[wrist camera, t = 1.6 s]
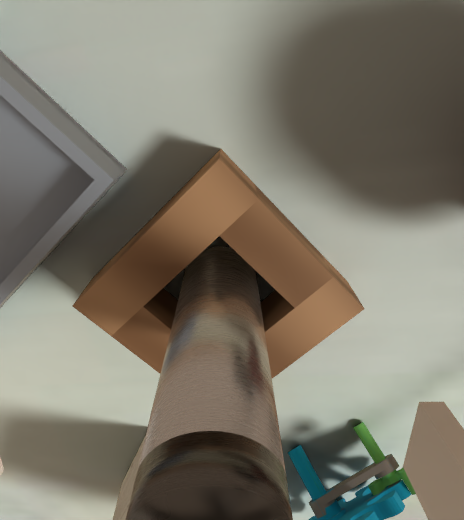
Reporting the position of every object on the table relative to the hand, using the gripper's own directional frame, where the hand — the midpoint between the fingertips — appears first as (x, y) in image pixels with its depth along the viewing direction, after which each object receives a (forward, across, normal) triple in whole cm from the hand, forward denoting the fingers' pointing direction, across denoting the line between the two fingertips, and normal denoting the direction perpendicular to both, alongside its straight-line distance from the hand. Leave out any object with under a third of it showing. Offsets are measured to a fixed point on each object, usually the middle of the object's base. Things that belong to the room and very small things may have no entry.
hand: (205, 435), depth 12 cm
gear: (+11, +8, -14) cm, 20 cm away
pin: (+11, 0, 0) cm, 11 cm away
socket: (+11, 0, 0) cm, 11 cm away
